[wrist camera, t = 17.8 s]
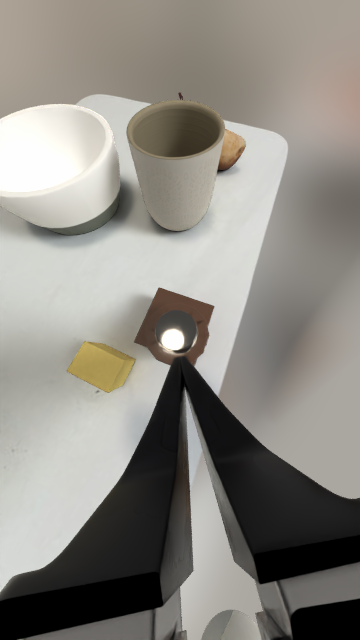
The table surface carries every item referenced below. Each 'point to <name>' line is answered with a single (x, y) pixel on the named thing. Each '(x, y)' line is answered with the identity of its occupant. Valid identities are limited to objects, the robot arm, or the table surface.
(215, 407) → the robot arm
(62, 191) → the bowl
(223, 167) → the vegetable
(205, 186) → the planter
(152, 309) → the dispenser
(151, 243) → the table surface
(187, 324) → the dark grey short cylinder
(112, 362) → the yellow block
